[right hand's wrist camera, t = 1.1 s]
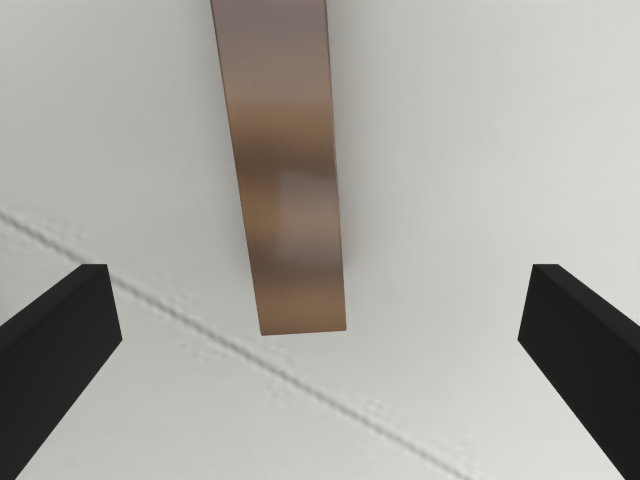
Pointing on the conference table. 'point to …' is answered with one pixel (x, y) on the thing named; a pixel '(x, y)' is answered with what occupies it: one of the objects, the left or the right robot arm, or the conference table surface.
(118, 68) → the conference table surface
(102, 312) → the right robot arm
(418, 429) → the conference table surface
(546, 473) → the conference table surface
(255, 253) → the post
